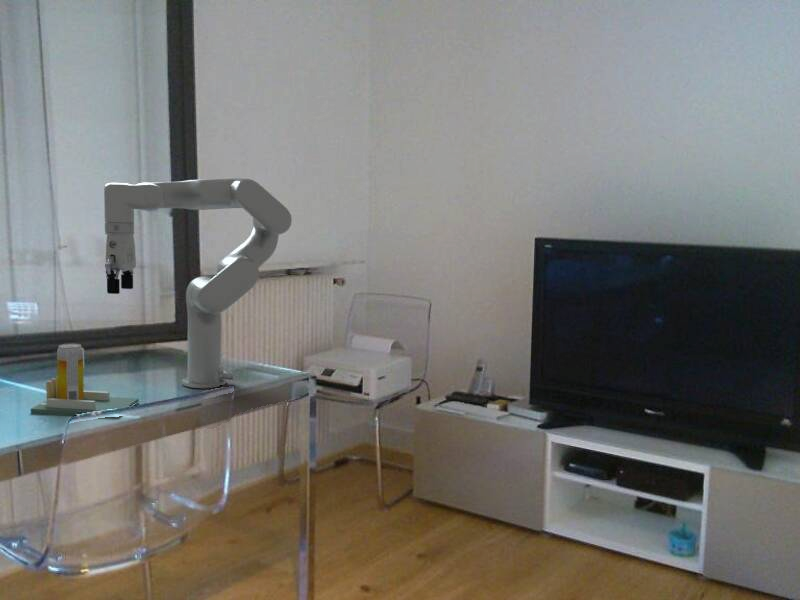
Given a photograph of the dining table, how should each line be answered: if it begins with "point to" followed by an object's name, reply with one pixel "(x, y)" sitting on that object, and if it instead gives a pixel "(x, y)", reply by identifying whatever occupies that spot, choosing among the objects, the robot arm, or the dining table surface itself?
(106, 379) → the dining table surface
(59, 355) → the beer can
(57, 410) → the board
